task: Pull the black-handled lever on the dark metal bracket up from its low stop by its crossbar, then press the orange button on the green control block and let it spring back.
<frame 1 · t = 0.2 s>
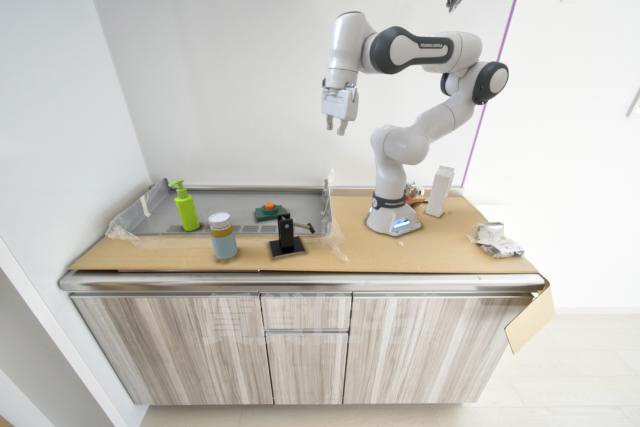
hand: (334, 132, 76), 38 cm above the countertop, tool pointing down, fingers open, 8 cm apart
button: (269, 206, 104), point 4 cm above the countertop, slide at 0.1 cm
milk: (434, 213, 111), on the countertop
lever: (297, 224, 82), point 9 cm above the countertop, hinge at -25.0°
button block: (270, 215, 107), on the countertop
bottle: (227, 256, 82), on the countertop
bracket: (286, 248, 86), on the countertop
soap dispenser: (191, 228, 97), on the countertop
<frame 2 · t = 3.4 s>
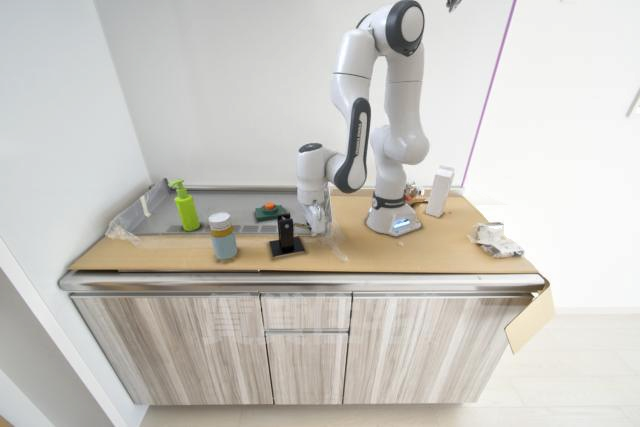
hand: (311, 230, 85), 6 cm above the countertop, tool pointing down, fingers closed on lever, 5 cm apart
lever: (297, 224, 82), point 9 cm above the countertop, hinge at -25.0°, touching gripper
everything else where it was.
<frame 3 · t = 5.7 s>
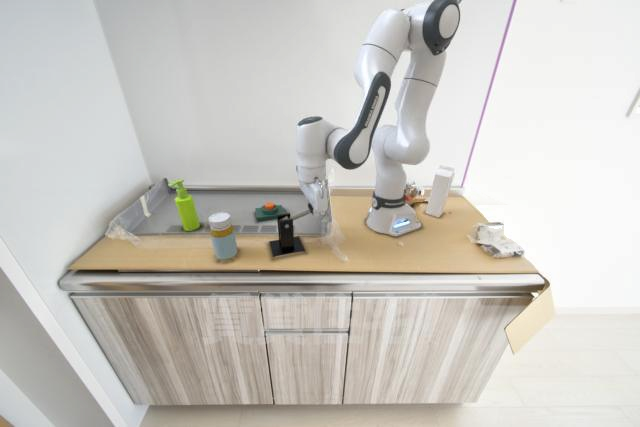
hand: (312, 211, 82), 13 cm above the countertop, tool pointing down, fingers closed on lever, 5 cm apart
lever: (298, 216, 81), point 12 cm above the countertop, hinge at 16.8°, touching gripper
everything else where it was.
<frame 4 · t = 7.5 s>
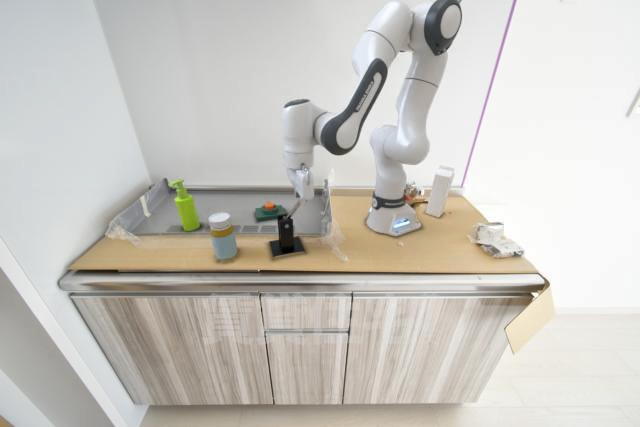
hand: (300, 201, 79), 18 cm above the countertop, tool pointing down, fingers closed on lever, 5 cm apart
lever: (293, 210, 79), point 15 cm above the countertop, hinge at 51.4°, touching gripper
everything else where it was.
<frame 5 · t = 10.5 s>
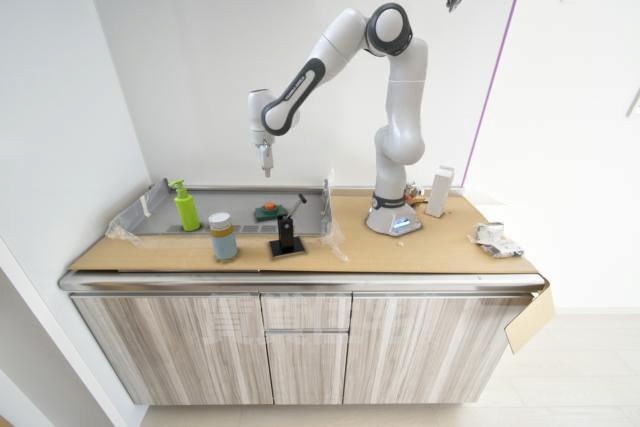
hand: (266, 172, 97), 20 cm above the countertop, tool pointing down, fingers open, 8 cm apart
lever: (293, 210, 79), point 15 cm above the countertop, hinge at 51.6°
everything else where it was.
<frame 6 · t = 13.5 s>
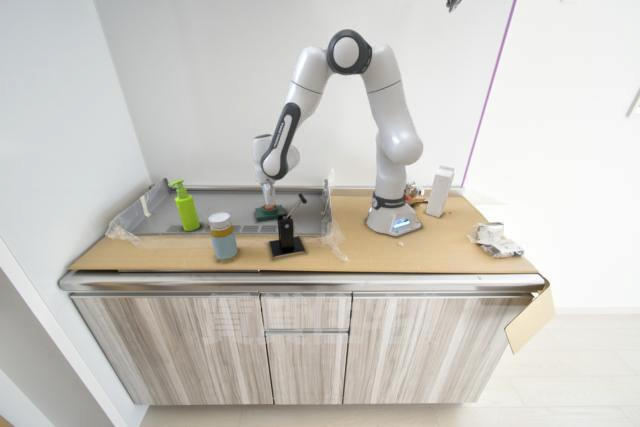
hand: (269, 206, 104), 5 cm above the countertop, tool pointing down, fingers closed, pressing on button
button: (269, 207, 105), point 4 cm above the countertop, slide at -0.7 cm, touching gripper
everything else where it was.
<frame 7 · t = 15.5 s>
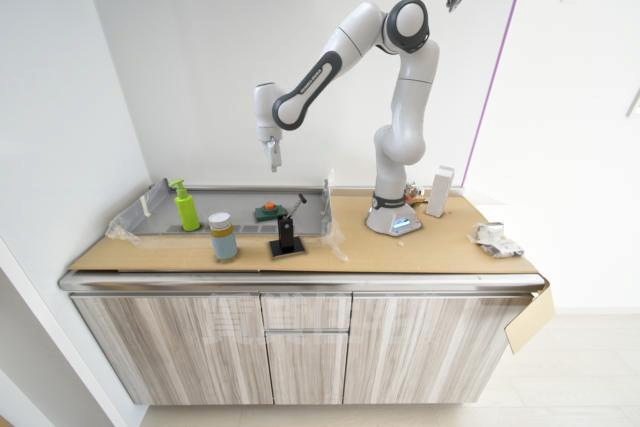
hand: (273, 171, 93), 22 cm above the countertop, tool pointing down, fingers closed
button: (269, 206, 104), point 4 cm above the countertop, slide at 0.1 cm
everything else where it was.
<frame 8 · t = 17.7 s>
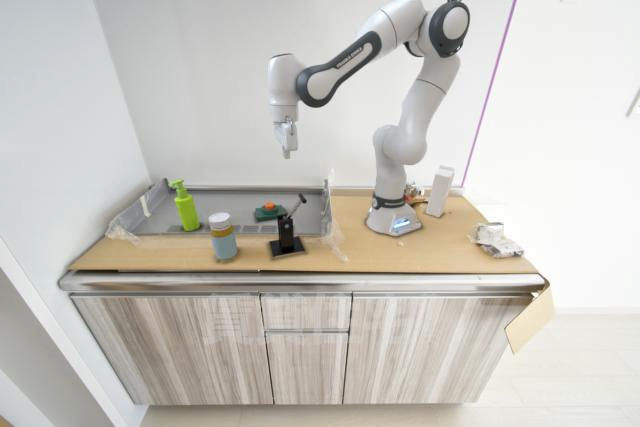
hand: (286, 157, 83), 29 cm above the countertop, tool pointing down, fingers closed
nothing on the countertop moved.
at the end: lever at +52° (first picture: -25°); button pushed in 1.1 cm at the most during the clip, back to where it started at the end; button slide at 0.1 cm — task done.
